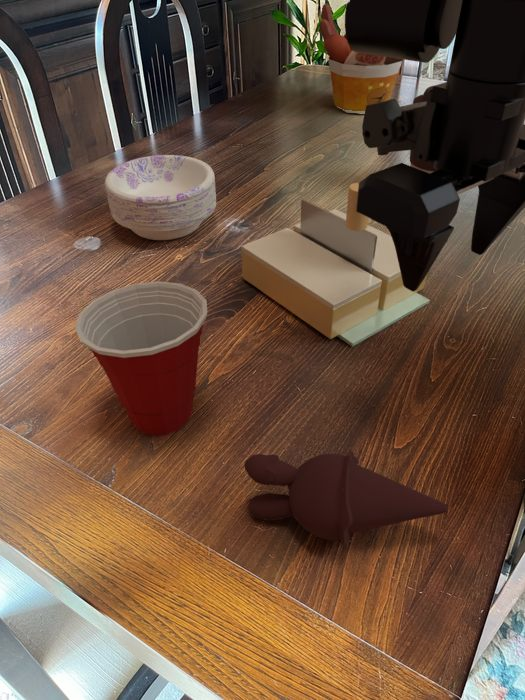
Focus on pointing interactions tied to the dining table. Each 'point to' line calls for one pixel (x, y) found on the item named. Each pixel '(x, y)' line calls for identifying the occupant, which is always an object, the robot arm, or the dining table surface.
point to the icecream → (335, 496)
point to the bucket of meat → (356, 70)
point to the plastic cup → (148, 349)
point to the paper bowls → (161, 195)
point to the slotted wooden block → (331, 284)
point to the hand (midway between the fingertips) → (444, 269)
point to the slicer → (341, 231)
